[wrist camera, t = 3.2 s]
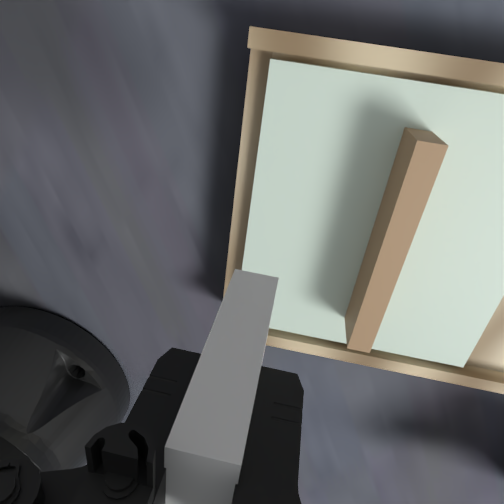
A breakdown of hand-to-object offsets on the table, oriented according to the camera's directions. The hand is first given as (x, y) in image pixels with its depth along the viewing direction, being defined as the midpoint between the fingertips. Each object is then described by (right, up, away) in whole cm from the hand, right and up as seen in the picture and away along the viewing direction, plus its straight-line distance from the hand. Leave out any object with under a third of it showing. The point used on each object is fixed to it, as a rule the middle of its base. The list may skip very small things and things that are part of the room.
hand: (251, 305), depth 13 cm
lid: (+7, +3, +7) cm, 10 cm away
